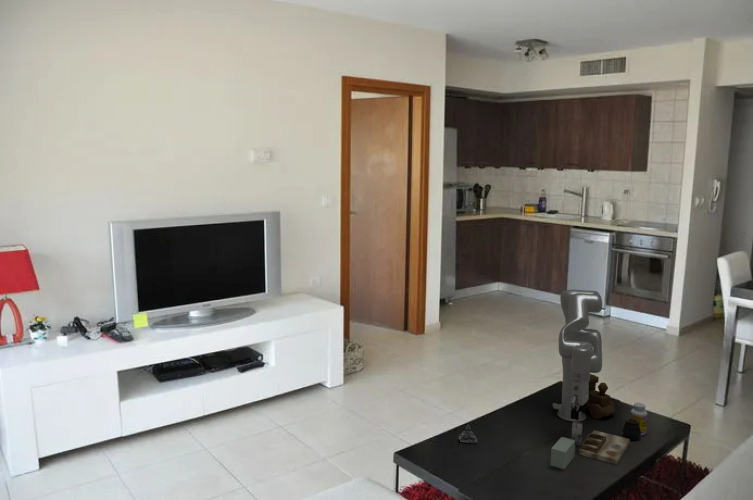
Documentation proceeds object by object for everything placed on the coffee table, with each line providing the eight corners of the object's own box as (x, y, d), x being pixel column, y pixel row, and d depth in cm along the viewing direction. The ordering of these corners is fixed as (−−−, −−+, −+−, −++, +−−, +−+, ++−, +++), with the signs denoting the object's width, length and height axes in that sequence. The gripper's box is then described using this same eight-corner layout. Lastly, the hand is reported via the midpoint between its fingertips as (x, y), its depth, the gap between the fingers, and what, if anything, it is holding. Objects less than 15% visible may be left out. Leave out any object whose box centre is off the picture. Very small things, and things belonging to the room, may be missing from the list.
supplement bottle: (642, 437, 264) (644, 409, 262) (627, 432, 269) (628, 405, 267) (648, 432, 269) (650, 404, 267) (633, 427, 274) (634, 400, 272)
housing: (550, 465, 240) (551, 448, 239) (560, 452, 250) (561, 436, 249) (564, 469, 237) (565, 452, 236) (574, 456, 247) (575, 440, 246)
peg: (570, 444, 258) (571, 423, 256) (572, 440, 261) (574, 420, 260) (579, 446, 255) (580, 426, 254) (582, 443, 259) (583, 422, 257)
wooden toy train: (566, 408, 295) (567, 374, 293) (580, 402, 302) (582, 370, 299) (602, 422, 279) (604, 387, 277) (617, 416, 286) (619, 382, 283)
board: (578, 454, 249) (579, 445, 248) (594, 434, 267) (594, 426, 266) (616, 464, 240) (617, 455, 240) (629, 443, 258) (630, 435, 258)
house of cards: (478, 435, 266) (479, 418, 265) (480, 444, 258) (481, 427, 257) (457, 434, 267) (458, 417, 266) (459, 443, 258) (459, 426, 257)
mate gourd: (625, 441, 261) (627, 419, 259) (619, 433, 268) (620, 411, 267) (642, 441, 260) (644, 419, 259) (635, 433, 268) (637, 412, 266)
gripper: (583, 383, 244) (581, 424, 246) (595, 372, 259) (592, 411, 261) (564, 379, 249) (562, 420, 251) (577, 368, 263) (575, 407, 265)
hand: (578, 415), depth 256 cm, fingers open, 9 cm apart
